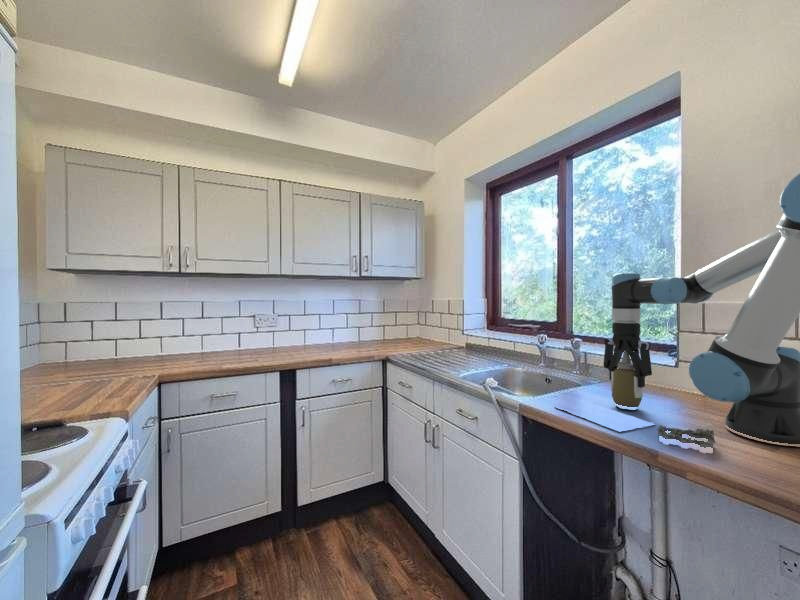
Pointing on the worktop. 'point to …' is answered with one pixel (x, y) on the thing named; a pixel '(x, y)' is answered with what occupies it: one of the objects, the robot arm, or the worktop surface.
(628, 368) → the squeeze bottle
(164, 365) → the worktop surface
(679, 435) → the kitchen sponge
